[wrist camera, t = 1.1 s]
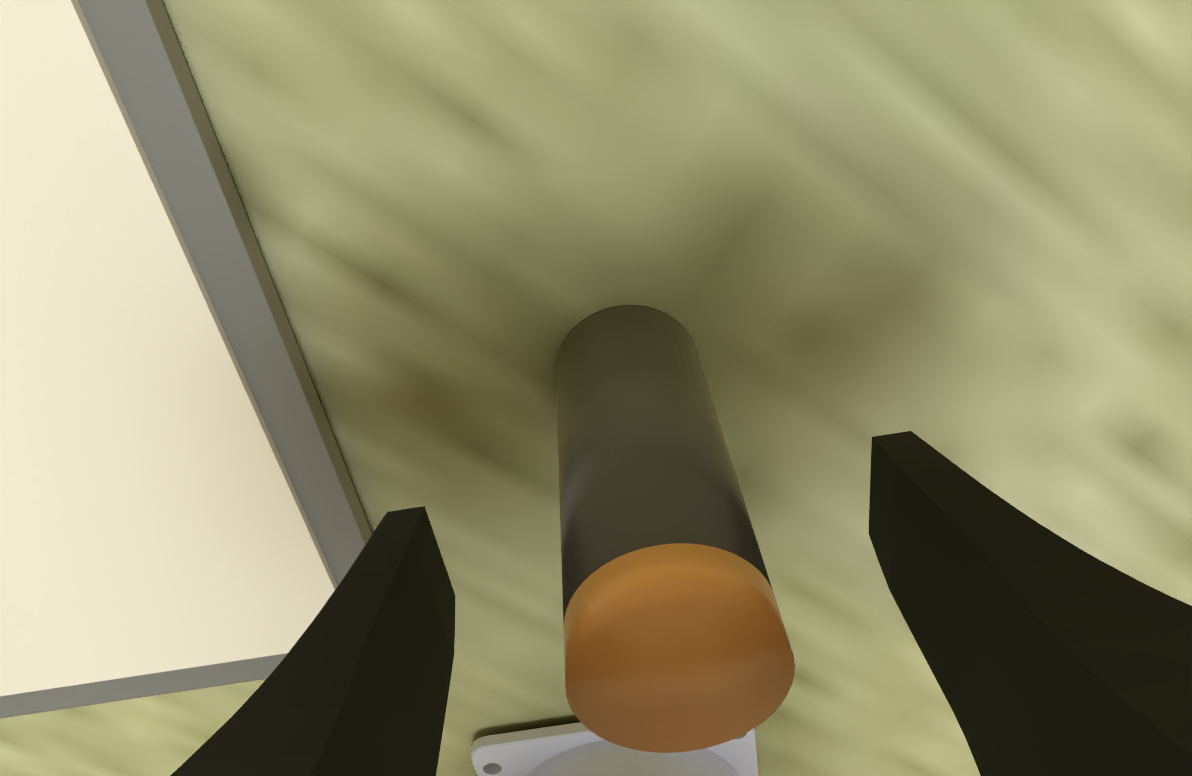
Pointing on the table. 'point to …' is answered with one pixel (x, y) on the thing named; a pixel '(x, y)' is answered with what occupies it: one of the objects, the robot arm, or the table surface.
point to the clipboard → (144, 384)
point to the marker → (657, 547)
